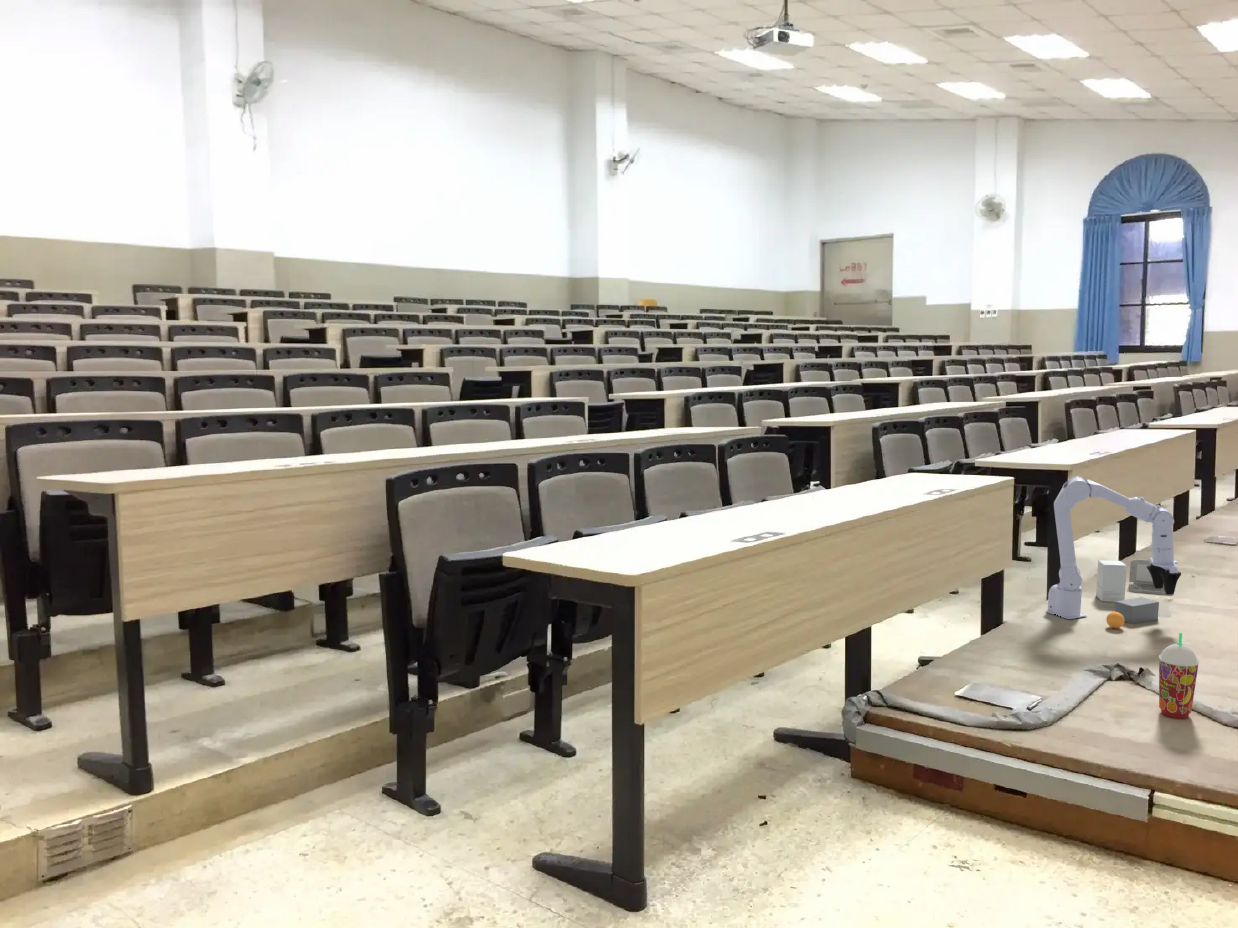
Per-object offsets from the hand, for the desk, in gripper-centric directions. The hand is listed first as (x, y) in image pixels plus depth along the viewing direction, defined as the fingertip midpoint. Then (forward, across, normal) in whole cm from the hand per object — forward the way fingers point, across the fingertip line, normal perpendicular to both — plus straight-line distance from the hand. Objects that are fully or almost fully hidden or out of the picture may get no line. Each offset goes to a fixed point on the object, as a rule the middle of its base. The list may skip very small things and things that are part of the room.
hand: (1164, 591), depth 311 cm
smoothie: (+10, -75, +30) cm, 82 cm away
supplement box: (+9, +28, +6) cm, 30 cm away
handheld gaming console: (+11, +40, -13) cm, 44 cm away
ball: (+6, -6, +17) cm, 19 cm away
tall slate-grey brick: (+10, +5, +7) cm, 13 cm away
